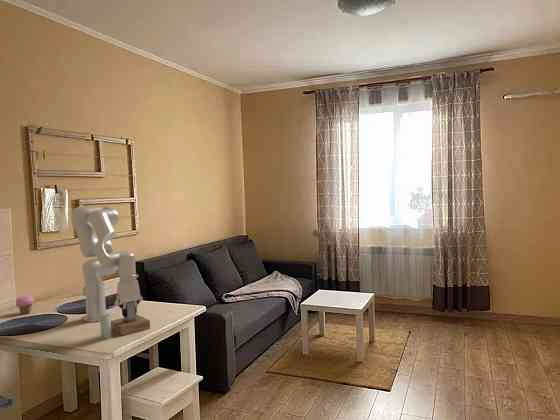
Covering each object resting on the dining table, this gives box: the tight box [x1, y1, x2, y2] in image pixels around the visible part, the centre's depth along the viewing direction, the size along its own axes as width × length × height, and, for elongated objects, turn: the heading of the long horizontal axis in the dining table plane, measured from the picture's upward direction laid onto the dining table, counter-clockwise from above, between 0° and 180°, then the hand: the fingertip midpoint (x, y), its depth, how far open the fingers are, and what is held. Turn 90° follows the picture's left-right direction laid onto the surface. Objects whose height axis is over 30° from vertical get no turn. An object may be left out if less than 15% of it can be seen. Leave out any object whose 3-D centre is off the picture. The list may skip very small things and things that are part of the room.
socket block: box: [111, 314, 151, 337], centre depth 205 cm, size 14×14×4 cm
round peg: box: [99, 314, 112, 340], centre depth 193 cm, size 4×4×10 cm
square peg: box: [123, 301, 137, 323], centre depth 205 cm, size 4×4×10 cm
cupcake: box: [15, 295, 35, 315], centre depth 236 cm, size 9×9×10 cm
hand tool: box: [105, 295, 117, 307], centre depth 248 cm, size 23×5×6 cm, turn 154°
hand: (129, 315), depth 205 cm, fingers closed on square peg, 4 cm apart
